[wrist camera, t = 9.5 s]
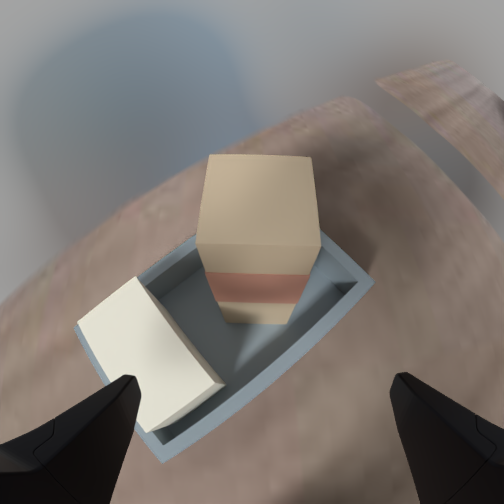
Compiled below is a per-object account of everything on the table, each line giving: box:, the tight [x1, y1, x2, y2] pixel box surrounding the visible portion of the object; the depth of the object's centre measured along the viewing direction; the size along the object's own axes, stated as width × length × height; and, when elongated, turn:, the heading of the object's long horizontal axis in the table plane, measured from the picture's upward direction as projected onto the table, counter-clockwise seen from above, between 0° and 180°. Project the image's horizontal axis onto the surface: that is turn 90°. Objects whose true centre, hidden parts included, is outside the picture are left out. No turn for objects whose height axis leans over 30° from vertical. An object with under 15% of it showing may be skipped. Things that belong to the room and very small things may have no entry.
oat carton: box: [195, 154, 321, 324], centre depth 18 cm, size 5×5×13 cm
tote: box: [74, 230, 375, 464], centre depth 21 cm, size 20×12×4 cm, turn 131°
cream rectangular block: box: [77, 276, 227, 433], centre depth 18 cm, size 5×8×7 cm, turn 41°
